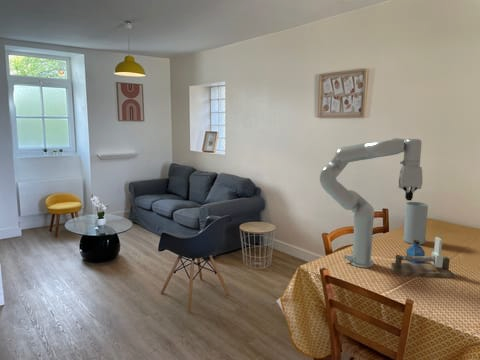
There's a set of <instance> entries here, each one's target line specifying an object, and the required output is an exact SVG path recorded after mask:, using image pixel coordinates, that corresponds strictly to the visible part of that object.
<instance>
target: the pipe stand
mask: <svg viewBox="0 0 480 360" xmlns="http://www.w3.org/2000/svg"><path fill="white" fill-rule="evenodd" d="M450 259H451V258H449V257H448V256H443V264H442V267H435V266H434V265H433V264H432V263H431V262H435V257H431V256H407V255H400V254H395V260H394V261H395V262H391V265H390V266H391V268H392V269H393V270H394V272H395V273H396V274H397V275H398V276H403V277H405V276H406V277H423V278H424V277H426V278H428V277H429V278H449V279H453V278H454V277H455V274H454V272H452V271H451V270H450V269H449V268H450ZM403 261H405V262H403ZM406 261H407V262H406ZM409 261H424V262H430V263H421V264H416V263H411V262H410V263H408V262H409Z"/></svg>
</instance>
